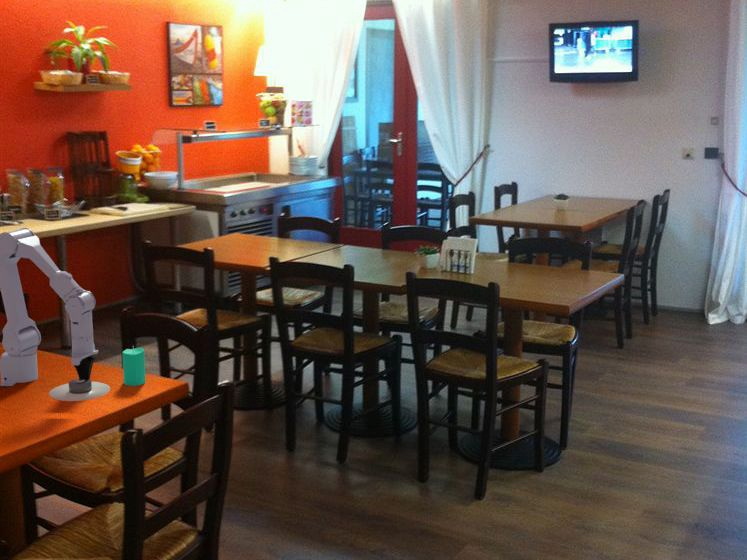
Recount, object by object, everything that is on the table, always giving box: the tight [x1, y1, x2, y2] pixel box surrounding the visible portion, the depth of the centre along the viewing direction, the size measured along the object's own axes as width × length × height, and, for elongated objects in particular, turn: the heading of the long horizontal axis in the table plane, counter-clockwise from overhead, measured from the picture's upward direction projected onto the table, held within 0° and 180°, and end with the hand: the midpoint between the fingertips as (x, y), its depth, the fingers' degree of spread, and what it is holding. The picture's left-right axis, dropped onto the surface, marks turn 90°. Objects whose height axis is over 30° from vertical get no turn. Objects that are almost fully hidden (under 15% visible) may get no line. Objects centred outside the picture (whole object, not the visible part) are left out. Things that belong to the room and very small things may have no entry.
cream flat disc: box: [48, 381, 111, 402], centre depth 247 cm, size 16×16×1 cm
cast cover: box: [68, 378, 93, 394], centre depth 247 cm, size 6×6×3 cm
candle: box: [122, 346, 146, 387], centre depth 254 cm, size 6×6×12 cm
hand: (85, 382), depth 251 cm, fingers closed
